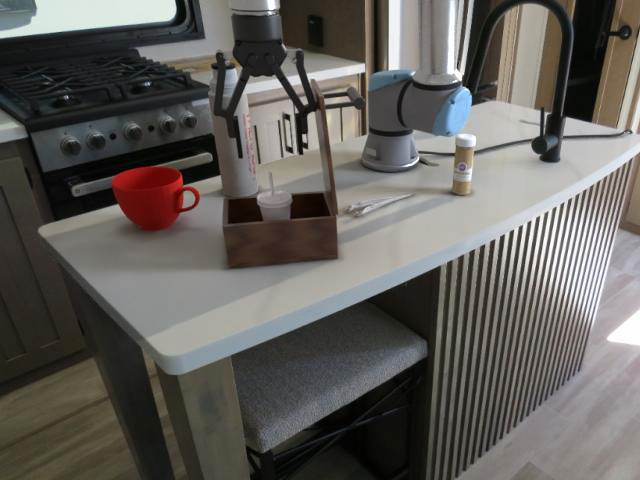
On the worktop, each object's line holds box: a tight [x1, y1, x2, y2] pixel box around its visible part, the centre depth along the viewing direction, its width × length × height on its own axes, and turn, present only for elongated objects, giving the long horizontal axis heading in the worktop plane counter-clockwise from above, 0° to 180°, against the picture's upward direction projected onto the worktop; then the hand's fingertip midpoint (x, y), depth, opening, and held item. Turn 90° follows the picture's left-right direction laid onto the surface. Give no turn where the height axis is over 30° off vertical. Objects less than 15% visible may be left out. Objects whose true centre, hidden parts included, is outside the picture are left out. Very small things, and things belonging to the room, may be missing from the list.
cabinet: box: [221, 190, 339, 269], centre depth 106 cm, size 20×13×8 cm, turn 104°
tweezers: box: [346, 193, 412, 218], centre depth 127 cm, size 17×5×2 cm, turn 132°
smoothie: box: [256, 171, 292, 221], centre depth 104 cm, size 6×6×14 cm
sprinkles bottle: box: [451, 133, 477, 196], centre depth 131 cm, size 5×5×13 cm
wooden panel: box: [309, 78, 366, 216], centre depth 101 cm, size 21×13×8 cm
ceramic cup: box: [110, 166, 201, 232], centre depth 113 cm, size 13×17×10 cm
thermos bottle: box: [207, 61, 259, 197], centre depth 124 cm, size 8×8×28 cm
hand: (271, 154), depth 99 cm, fingers open, 10 cm apart
